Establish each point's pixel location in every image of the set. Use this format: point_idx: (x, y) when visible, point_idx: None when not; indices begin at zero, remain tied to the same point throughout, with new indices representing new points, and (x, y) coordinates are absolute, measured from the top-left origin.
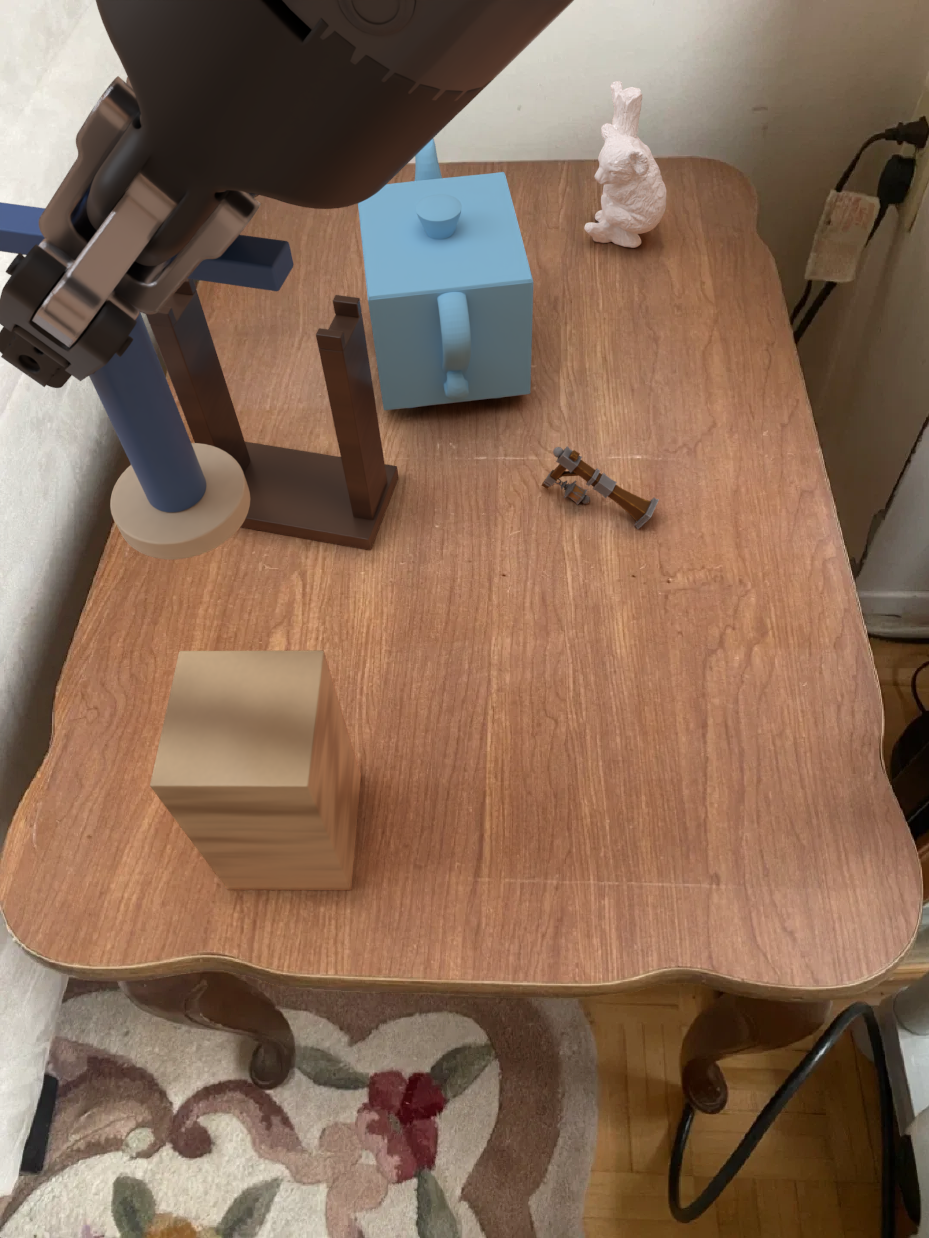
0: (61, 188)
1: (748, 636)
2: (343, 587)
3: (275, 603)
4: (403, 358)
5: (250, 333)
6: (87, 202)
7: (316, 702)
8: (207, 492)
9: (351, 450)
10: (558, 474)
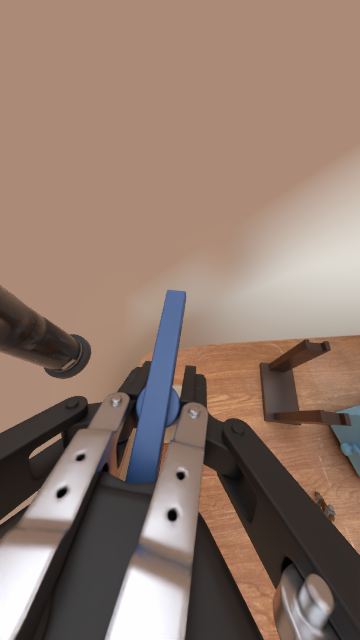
0: (51, 472)
1: (270, 613)
2: (247, 413)
3: (236, 392)
4: (348, 426)
5: (341, 355)
6: (20, 513)
7: (166, 442)
8: (174, 425)
9: (289, 417)
10: (321, 504)
